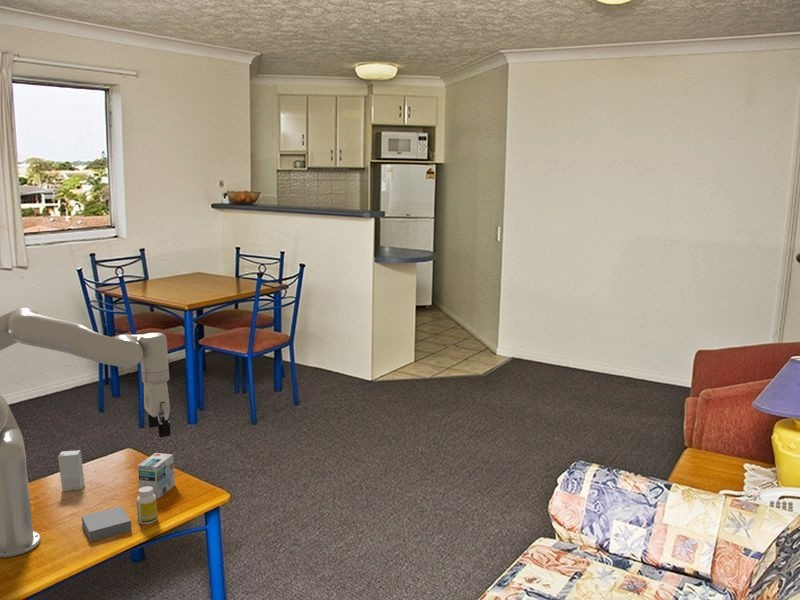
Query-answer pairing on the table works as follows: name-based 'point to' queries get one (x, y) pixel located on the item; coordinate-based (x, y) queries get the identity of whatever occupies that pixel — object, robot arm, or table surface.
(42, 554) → the table surface
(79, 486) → the skincare box
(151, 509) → the supplement bottle
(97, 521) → the slate base block
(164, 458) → the light bulb box
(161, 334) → the robot arm
